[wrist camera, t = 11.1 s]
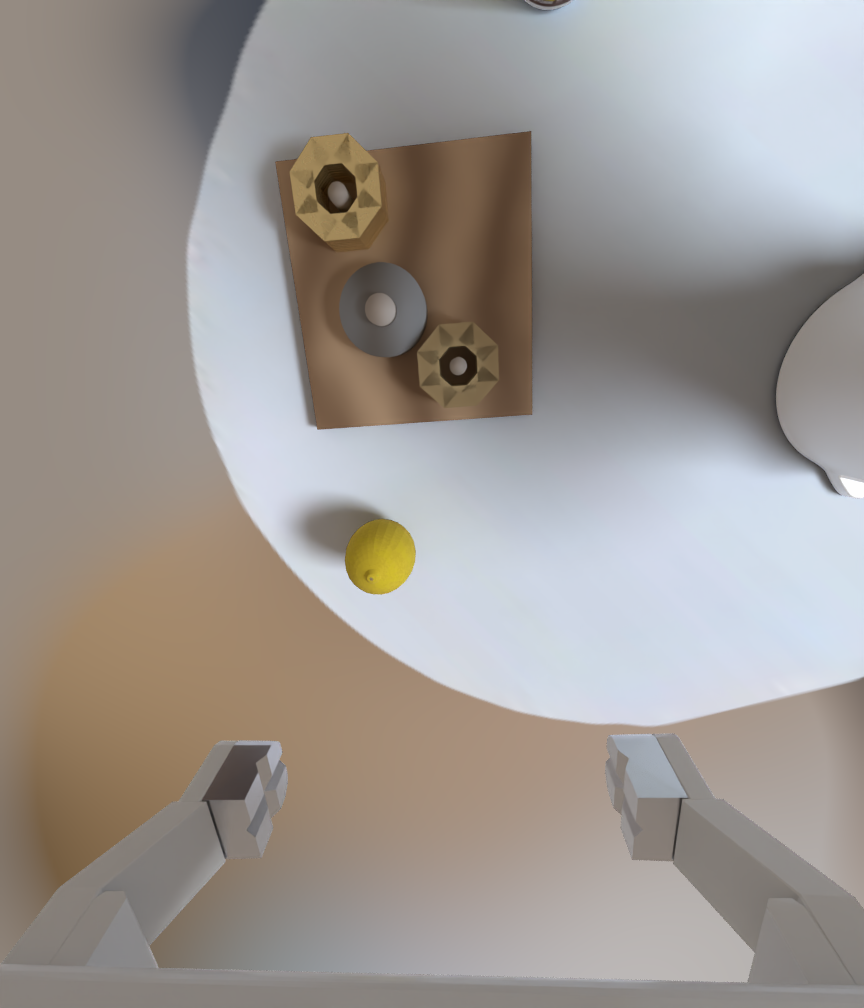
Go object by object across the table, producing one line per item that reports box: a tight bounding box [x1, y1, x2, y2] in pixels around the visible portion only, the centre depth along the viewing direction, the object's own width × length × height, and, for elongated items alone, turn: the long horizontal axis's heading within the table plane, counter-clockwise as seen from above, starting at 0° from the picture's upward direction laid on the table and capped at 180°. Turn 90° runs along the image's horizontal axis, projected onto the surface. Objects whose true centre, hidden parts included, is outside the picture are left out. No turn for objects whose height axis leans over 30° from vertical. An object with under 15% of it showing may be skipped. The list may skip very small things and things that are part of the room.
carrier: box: [275, 131, 532, 430], centre depth 30 cm, size 17×18×4 cm
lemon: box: [345, 519, 416, 594], centre depth 35 cm, size 6×6×8 cm
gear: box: [290, 133, 389, 252], centre depth 28 cm, size 6×6×3 cm
